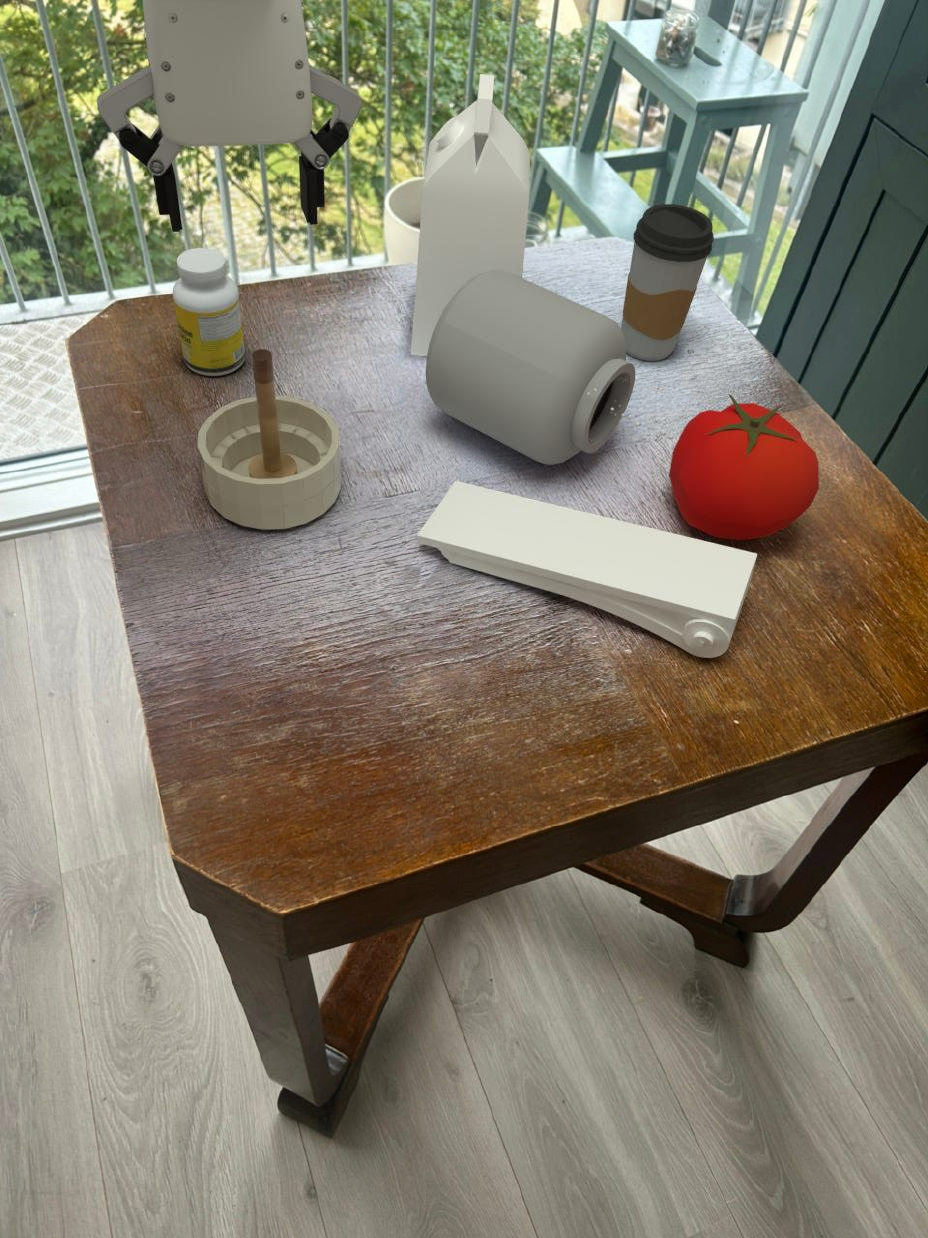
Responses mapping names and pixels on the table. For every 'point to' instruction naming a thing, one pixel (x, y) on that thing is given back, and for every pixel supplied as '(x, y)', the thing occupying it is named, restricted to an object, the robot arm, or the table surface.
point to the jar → (529, 368)
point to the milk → (469, 208)
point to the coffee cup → (663, 278)
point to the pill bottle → (208, 313)
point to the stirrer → (268, 423)
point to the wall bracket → (598, 563)
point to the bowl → (237, 441)
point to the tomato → (742, 472)
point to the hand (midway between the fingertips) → (243, 219)
